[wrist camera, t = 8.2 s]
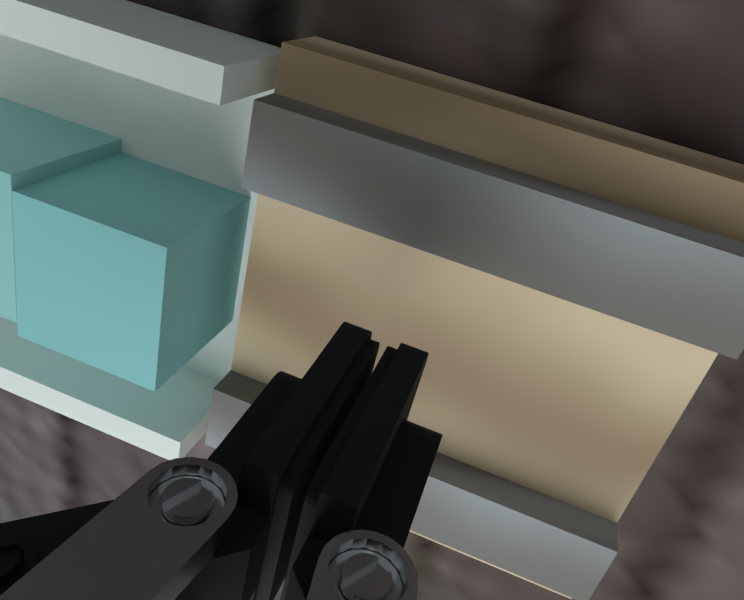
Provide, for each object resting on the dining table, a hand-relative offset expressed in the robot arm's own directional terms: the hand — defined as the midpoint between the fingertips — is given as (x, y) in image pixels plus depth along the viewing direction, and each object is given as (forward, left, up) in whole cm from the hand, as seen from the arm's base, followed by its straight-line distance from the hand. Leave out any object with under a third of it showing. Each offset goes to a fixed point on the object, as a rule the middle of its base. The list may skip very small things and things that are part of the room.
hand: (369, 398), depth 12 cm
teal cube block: (+1, -7, -6) cm, 9 cm away
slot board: (+1, +1, -6) cm, 6 cm away
